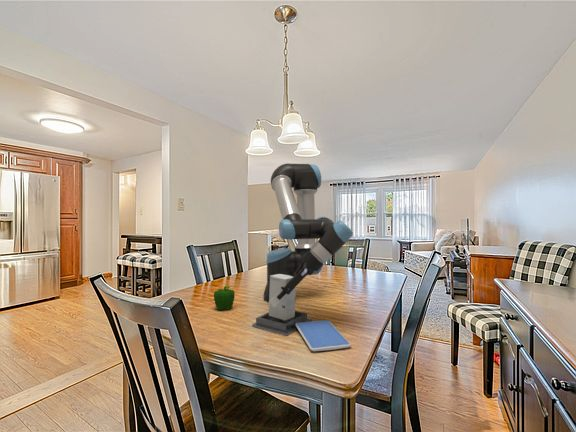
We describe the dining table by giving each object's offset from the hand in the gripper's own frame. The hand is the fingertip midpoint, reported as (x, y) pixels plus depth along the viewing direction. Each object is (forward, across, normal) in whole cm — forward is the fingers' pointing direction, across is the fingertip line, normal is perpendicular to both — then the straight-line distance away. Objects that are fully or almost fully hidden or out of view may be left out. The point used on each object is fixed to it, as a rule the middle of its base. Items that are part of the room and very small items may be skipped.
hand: (273, 300), depth 107 cm
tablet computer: (-6, -11, -18) cm, 22 cm away
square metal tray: (+4, 0, -8) cm, 9 cm away
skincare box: (+2, 0, -7) cm, 7 cm away
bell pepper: (+23, +16, +10) cm, 30 cm away
